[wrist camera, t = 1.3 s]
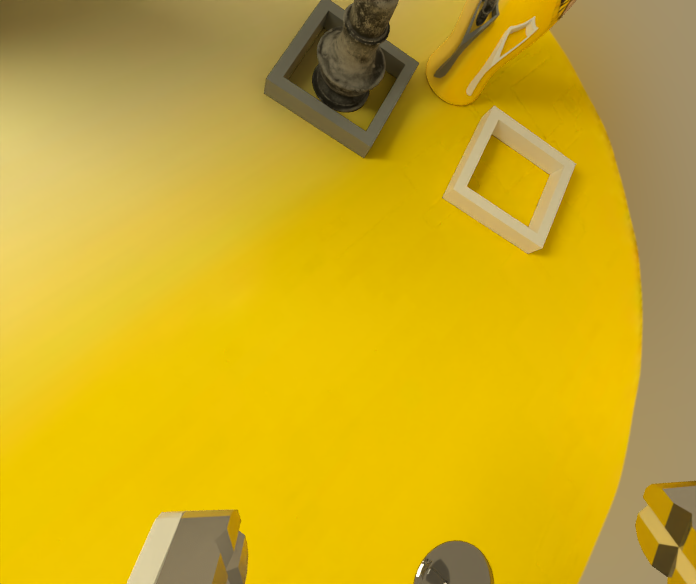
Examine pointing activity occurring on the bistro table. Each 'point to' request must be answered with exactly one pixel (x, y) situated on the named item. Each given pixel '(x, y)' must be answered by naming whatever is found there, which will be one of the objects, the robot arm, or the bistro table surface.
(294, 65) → the dark socket
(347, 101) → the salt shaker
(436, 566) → the wine glass
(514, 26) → the beer glass
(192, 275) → the bistro table surface
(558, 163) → the pale socket
